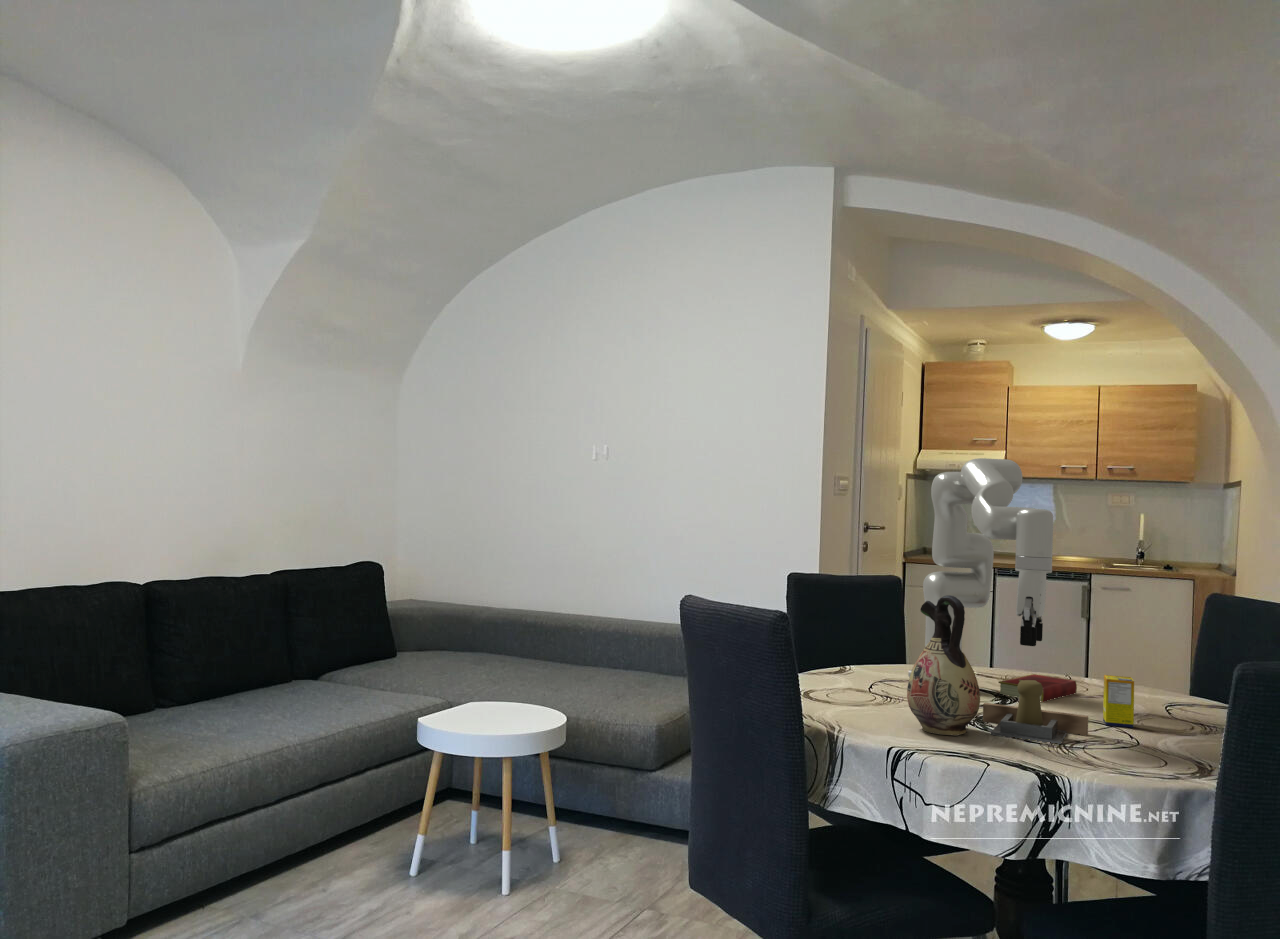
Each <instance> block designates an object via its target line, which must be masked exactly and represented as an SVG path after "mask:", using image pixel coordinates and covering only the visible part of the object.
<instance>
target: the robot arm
mask: <svg viewBox="0 0 1280 939" xmlns="http://www.w3.org/2000/svg"><path fill="white" fill-rule="evenodd" d="M1022 484H1023V472H1022V469H1021V467H1020V465H1019V464H1018V463H1017V462H1015V461H1014V460H1012V459H1005V458H1004V459H1003V458H986V457H984V458H983V457H981V458H972V459H970V460H968V461H966V462H965V463H964V464H963V465H962V467H961V470H960V471H945V472H940V473H938V474H937V475H935V477H934V478H933V480H932V484H931V489H930V494H931V501H932V506H933V512H934V520H933V521H934V522H933V523H934V524H933V533H932V534H933V536H932V548H931V556H932V560H933V563H934V564H936V565H937V566H939V567H943V568H956V569H957V568H958V569H959V568H960V569H970V572H968V571H967V572H965V571H942V570H940V571H933V572H930V573H928V574H927V575H926V576H925V578H924V579H923V582H922V589H923V590H922V591H923V599H924V603H925V602H926V601H930V602H932V603H933V604H934V605H935V606H936V605H937V602H938V600H939V599H940V598H942V597H943V596H947V595H951V596H954V597H956V598H957V599H959V600H960V601H961V603H962V604H963V606H964V608H970V609H971V608H975V609H977V608H983V607H984V606H986V605H987V603H988V602H989V601H990V596H991V587H992V578H993V577H992V576H993V570H994V569H993V568H994V567H993V566H994V557H995V555H994V554H995V552H994V546H993V542H992V540H1004V541H1005V540H1008V541H1010V540H1011V541H1015V563H1014V567H1015V568H1014V570H1015V571H1016V572H1018V579H1017V591H1016V608H1015V609H1016V610H1015V614H1016V616H1017V617H1021V623H1020V627H1019V628H1020V629H1019V631H1020V634H1019V635H1020V637H1019V644H1020V646H1027V647H1036V646H1037V642H1042V641H1043V632H1044V630H1043V624H1044V623H1043V615H1044V614H1045V611H1046V609H1045V608H1046V598H1047V597H1046V594H1047V593H1046V592H1047V574H1051V573H1053V548H1054V547H1053V546H1054V544H1053V543H1054V542H1053V541H1054V538H1053V537H1054V515H1053V512H1052V511H1051V510H1048V509H1043V508H1033V507H1021V506H1020V507H1019V506H1009V505H1010V503H1011V502H1012V501H1013V499H1014V494H1016V493H1017V492H1018V490H1019V489H1020V488H1021V486H1022ZM964 505H970V506H971V510H970V511H971V517H972V521H973V524H974V526H975V527H976V528H977V529H978V531H979V532H980V533H979V532H968V521H969V520H968V519H969V518H968V513H967V511H966V510H965V508H964ZM948 611H949V614H950V616H951V618H952V623H951V625H950V629H951V633H952V626H953V620H954V612H953V608H952V607H951V606H950V605H949V606H948ZM924 632H925V634H924V636H925V637H924V638H925V639H924V648H925V647H926V646H927V644H928V643H929V642H930V640H931V638H932V637H933V635H934V632H935V622H934V621H933V620H932V619H931V618H930V617H928V616H926V615H925V631H924ZM962 647H963V636H962V637H961V640H960V650H961V651H962ZM962 652H963V651H962ZM911 672H912V669H909V670H908V674H907V675H908V677H910V674H911Z"/></svg>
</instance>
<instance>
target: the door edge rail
mask: <svg viewBox="0 0 1280 939" xmlns="http://www.w3.org/2000/svg"><path fill="white" fill-rule="evenodd" d="M1017 711H1018V706H1016V705H1007V704H998V703H992V702H983V704H982V722H983V723H984V722H985V723H992V724H997V725H998V724H999V723H1000V722H1001V720H1002V719H1003V718H1004V717H1005V716H1006V715H1007V714H1008V713H1010V714H1014V716H1013V722H1016V717H1017ZM1041 712H1042V721H1043V726H1047V725H1048V724H1049V722H1050V721H1051V719H1056V720H1058V726H1057V730H1062V731H1067V734H1070V733H1073V734H1072V735H1078V734H1080V736H1085V735H1087V736H1089V715H1084V714H1083V715H1082V714H1077V713H1076V714H1075V713H1070V712H1069V713H1068V712H1061V711H1053V710H1052V711H1051V710H1046V709H1045V710H1044V709H1041Z"/></svg>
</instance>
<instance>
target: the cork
mask: <svg viewBox="0 0 1280 939" xmlns="http://www.w3.org/2000/svg"><path fill="white" fill-rule="evenodd" d="M1017 689H1018V693H1019V694H1020V698H1018V699H1019V700H1018V705H1017V707H1018V711H1017V717H1016V722H1021V723H1028V724H1035V725H1043V721H1042V712H1041V710H1042V704H1041V703H1042V702H1040V696H1041V695H1042V692H1043V687H1042V685H1041V684H1040V683H1039V682H1036V681H1032V680H1023V681H1020V682H1019V683H1018V687H1017Z"/></svg>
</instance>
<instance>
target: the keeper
mask: <svg viewBox="0 0 1280 939" xmlns="http://www.w3.org/2000/svg"><path fill="white" fill-rule="evenodd" d="M1013 716H1014V714H1010V713H1008V714H1007V715H1006V716H1005V717H1004V718H1003V719H1002V720H1001V722H1000V723H999V724H998V723H997V725H996V726H995V727H994V728H993V729H992V730H991V731H990V736H998V737H1003V736H1005V738H1010V737H1015V738H1014V739H1017V738H1022V739H1021V740H1024V739H1030V740H1029V741H1031V740H1037V741H1036V742H1038V741H1042V742H1041V743H1045V742H1051V743H1050V744H1052V743H1058V744H1057V745H1059V744H1061V745H1062V743H1063V741H1064V740H1065V738H1066V736H1067V735H1066V734H1068V733H1067V731H1062V730H1057V726H1058V720H1056V719H1051V721H1050V722H1049V724H1048V725H1047V726H1043V725H1035V724H1028V723H1021V722H1013ZM1064 737H1065V738H1064ZM1063 739H1064V740H1063ZM1061 742H1062V743H1061Z"/></svg>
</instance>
